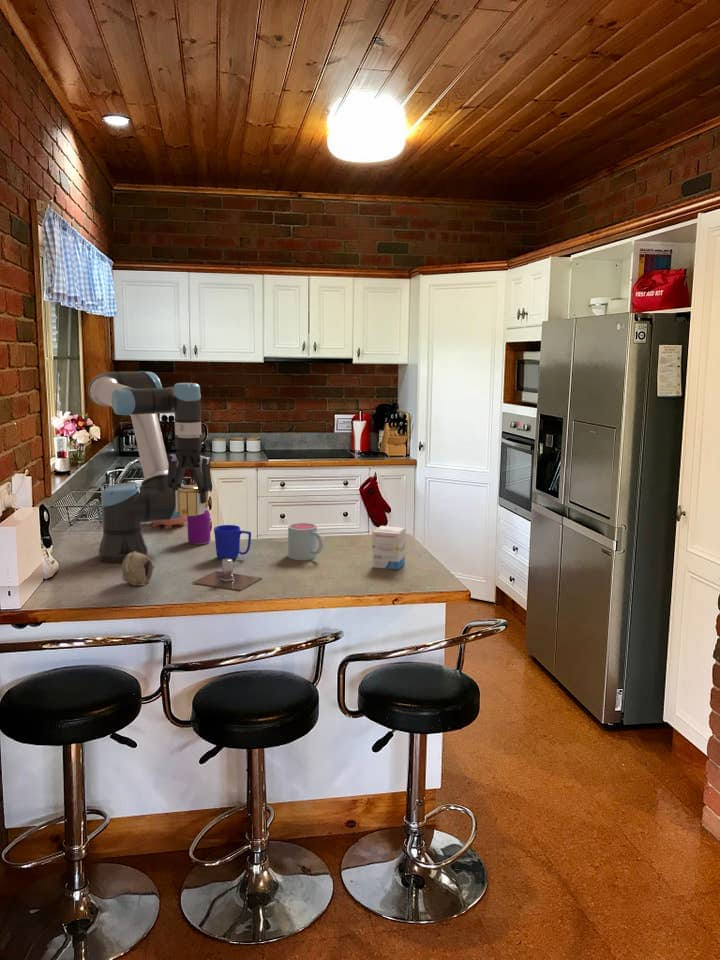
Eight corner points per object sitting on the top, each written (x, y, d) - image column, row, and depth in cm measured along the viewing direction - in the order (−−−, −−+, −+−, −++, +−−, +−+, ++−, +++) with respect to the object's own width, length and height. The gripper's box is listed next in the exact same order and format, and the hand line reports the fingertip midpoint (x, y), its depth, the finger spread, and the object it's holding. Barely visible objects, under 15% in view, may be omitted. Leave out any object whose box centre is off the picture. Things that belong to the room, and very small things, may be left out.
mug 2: (282, 556, 250) (282, 526, 248) (303, 550, 256) (303, 521, 254) (311, 564, 240) (311, 533, 239) (332, 558, 247) (332, 528, 245)
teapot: (191, 529, 283) (190, 493, 281) (144, 532, 278) (142, 495, 276) (188, 519, 298) (187, 485, 296) (143, 522, 294) (142, 487, 291)
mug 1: (246, 563, 241) (246, 532, 239) (210, 560, 243) (209, 530, 242) (255, 556, 249) (255, 526, 247) (220, 553, 251) (219, 524, 250)
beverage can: (209, 539, 270) (208, 505, 268) (212, 544, 263) (211, 510, 260) (186, 540, 267) (185, 506, 265) (189, 546, 260) (188, 511, 258)
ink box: (405, 563, 244) (406, 527, 241) (398, 570, 236) (398, 533, 234) (379, 560, 246) (380, 524, 244) (371, 567, 238) (372, 530, 236)
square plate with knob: (192, 583, 220) (191, 562, 219) (215, 572, 231) (215, 551, 230) (240, 590, 214) (240, 568, 213) (261, 579, 225) (261, 557, 224)
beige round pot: (128, 595, 217) (116, 566, 212) (124, 582, 224) (113, 553, 220) (160, 582, 219) (149, 553, 215) (156, 569, 227) (144, 541, 222)
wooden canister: (171, 515, 226) (170, 488, 225) (189, 509, 234) (188, 483, 233) (191, 517, 224) (190, 490, 222) (208, 511, 232) (207, 485, 230)
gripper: (152, 435, 225) (155, 511, 229) (209, 439, 218) (211, 518, 222) (168, 432, 232) (170, 506, 236) (224, 436, 225) (225, 513, 229)
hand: (190, 512), depth 229 cm, fingers closed on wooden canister, 7 cm apart
